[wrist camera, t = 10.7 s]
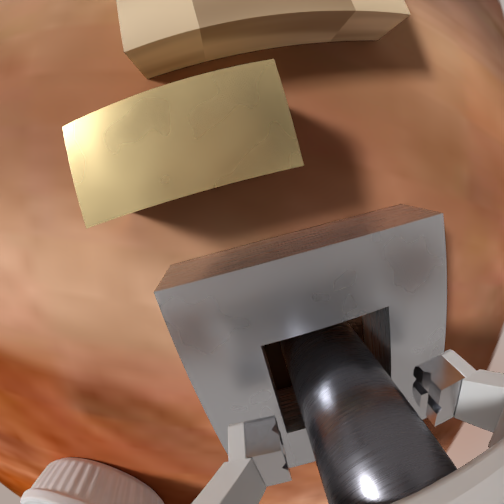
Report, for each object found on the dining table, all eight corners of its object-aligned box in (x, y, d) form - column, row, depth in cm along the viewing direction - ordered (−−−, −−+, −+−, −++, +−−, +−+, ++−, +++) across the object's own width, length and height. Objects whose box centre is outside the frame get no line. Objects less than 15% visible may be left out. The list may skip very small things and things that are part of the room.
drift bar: (111, 140, 11) (62, 127, 7) (259, 96, 11) (274, 59, 7) (129, 211, 11) (86, 228, 7) (278, 169, 11) (303, 165, 8)
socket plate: (170, 265, 12) (154, 291, 9) (401, 204, 12) (442, 213, 9) (238, 435, 14) (240, 477, 12) (410, 381, 15) (435, 412, 12)
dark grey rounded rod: (273, 319, 13) (345, 546, 3) (344, 298, 13) (492, 473, 3) (288, 375, 14) (347, 572, 4) (351, 356, 14) (456, 524, 4)
